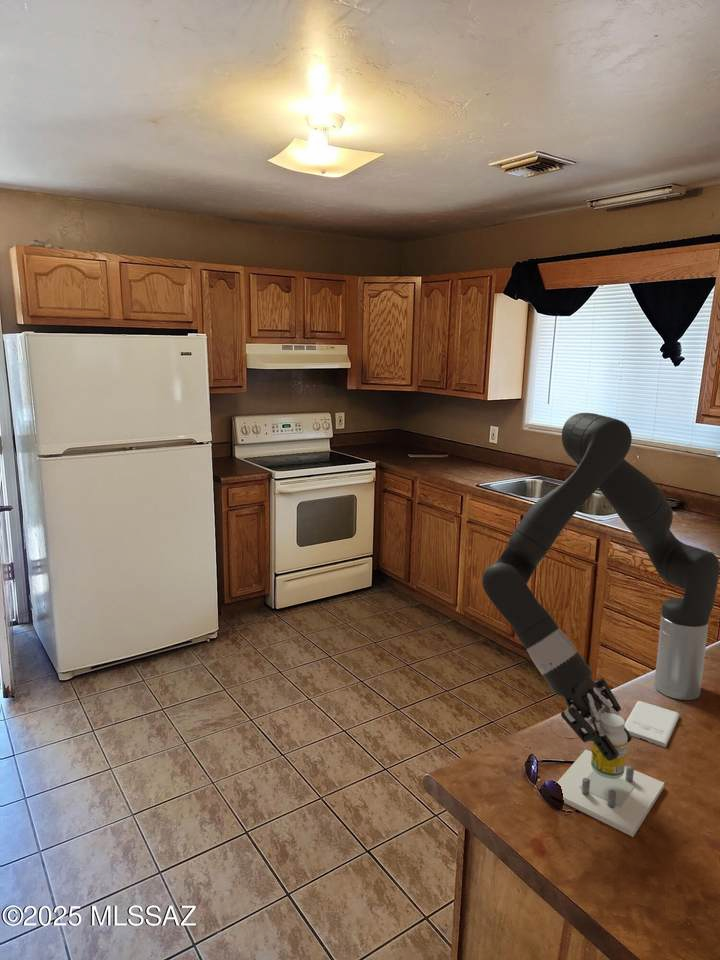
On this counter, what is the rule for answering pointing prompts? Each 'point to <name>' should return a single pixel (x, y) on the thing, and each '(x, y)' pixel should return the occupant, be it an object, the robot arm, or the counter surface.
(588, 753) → the pin tray
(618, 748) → the supplement bottle
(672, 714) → the external hard drive
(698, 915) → the counter surface
